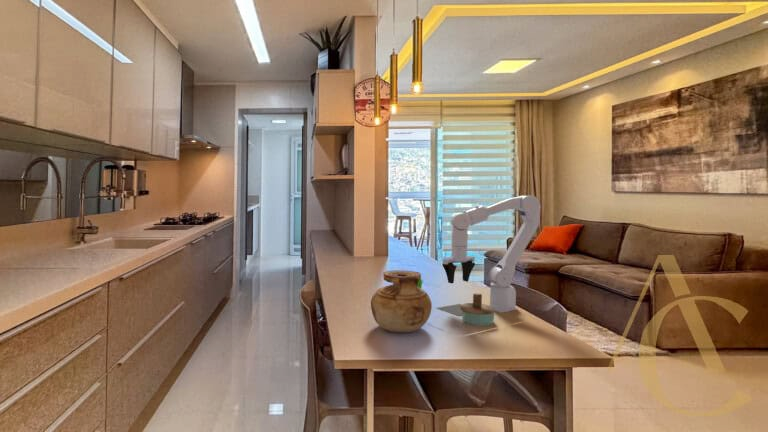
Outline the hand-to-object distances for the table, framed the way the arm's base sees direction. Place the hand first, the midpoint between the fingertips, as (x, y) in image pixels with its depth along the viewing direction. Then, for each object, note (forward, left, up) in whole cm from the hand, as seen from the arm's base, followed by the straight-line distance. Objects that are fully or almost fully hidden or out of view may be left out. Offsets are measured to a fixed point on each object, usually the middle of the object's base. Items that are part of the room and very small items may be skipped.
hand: (458, 282), depth 155 cm
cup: (+17, -7, -10) cm, 21 cm away
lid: (+6, +15, -6) cm, 17 cm away
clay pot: (+33, +9, -10) cm, 35 cm away
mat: (+2, +3, -10) cm, 11 cm away
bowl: (+6, +16, -10) cm, 20 cm away
